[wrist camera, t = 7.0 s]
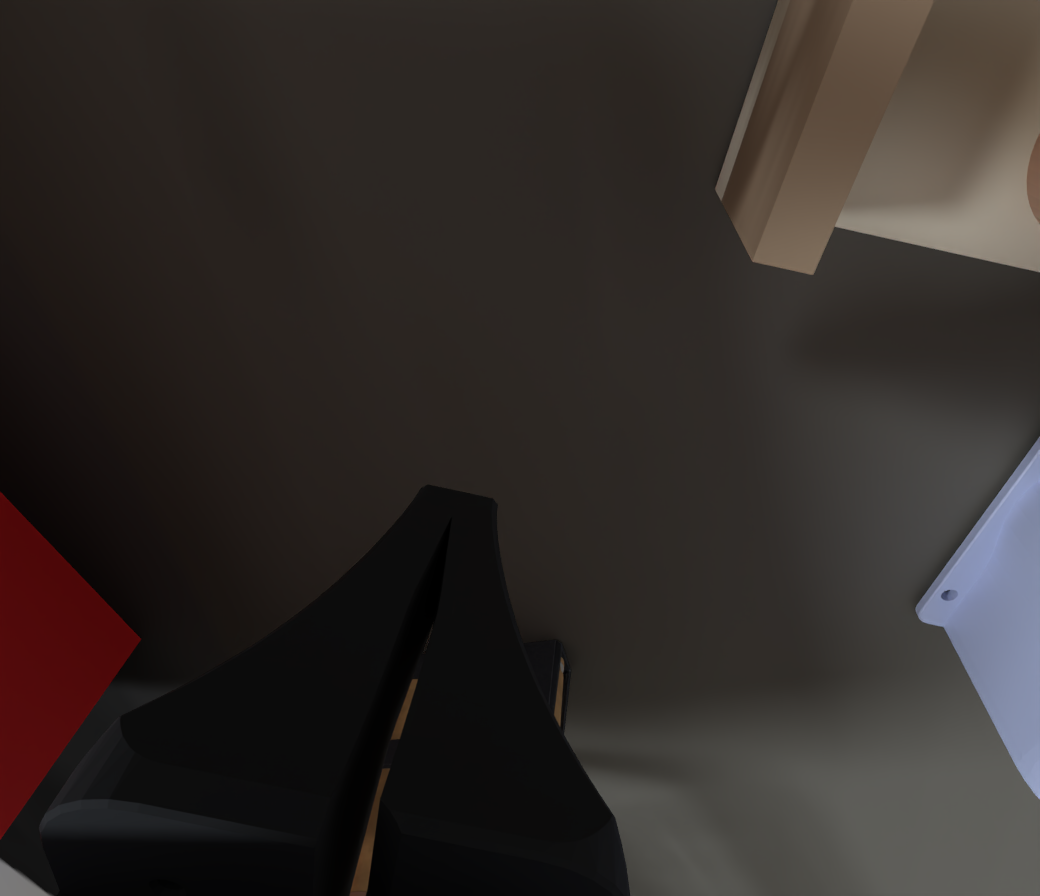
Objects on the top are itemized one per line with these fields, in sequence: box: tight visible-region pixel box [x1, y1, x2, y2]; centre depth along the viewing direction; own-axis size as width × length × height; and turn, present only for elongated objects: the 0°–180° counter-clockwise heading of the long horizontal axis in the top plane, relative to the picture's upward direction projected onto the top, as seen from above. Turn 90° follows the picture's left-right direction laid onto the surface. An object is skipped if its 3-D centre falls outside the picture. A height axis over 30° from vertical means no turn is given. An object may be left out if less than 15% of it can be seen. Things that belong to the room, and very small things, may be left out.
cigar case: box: [349, 640, 571, 896], centre depth 25 cm, size 11×2×12 cm, turn 105°
